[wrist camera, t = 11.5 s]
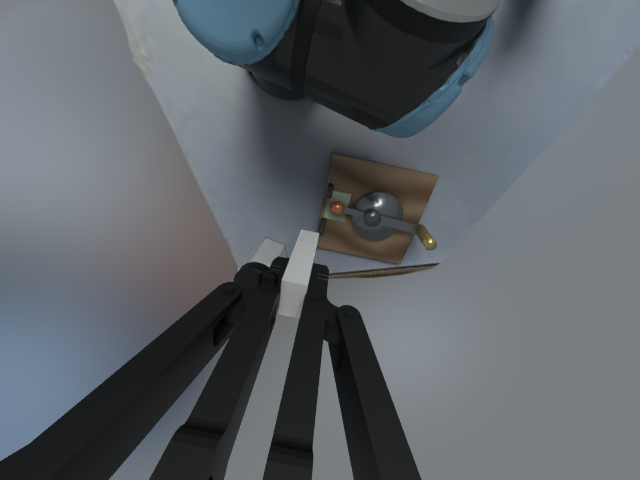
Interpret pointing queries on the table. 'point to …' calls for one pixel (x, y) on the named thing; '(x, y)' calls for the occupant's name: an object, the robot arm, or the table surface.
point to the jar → (258, 262)
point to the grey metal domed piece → (381, 218)
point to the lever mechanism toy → (357, 180)
